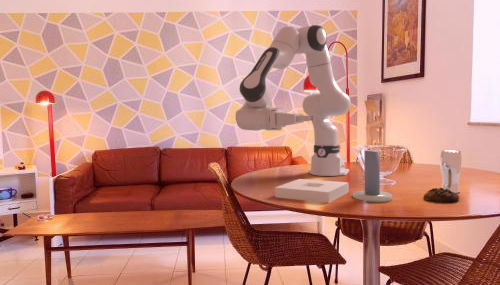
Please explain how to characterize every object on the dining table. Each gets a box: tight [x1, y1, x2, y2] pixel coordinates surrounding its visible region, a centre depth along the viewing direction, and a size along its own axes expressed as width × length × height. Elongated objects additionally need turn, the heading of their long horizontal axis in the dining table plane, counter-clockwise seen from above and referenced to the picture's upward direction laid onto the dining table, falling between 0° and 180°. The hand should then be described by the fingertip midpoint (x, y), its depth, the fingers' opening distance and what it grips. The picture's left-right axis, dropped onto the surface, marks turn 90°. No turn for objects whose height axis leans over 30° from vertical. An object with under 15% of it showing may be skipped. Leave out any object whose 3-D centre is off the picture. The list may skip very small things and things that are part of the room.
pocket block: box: [274, 178, 350, 204], centre depth 147 cm, size 20×20×4 cm
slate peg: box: [363, 149, 381, 196], centre depth 140 cm, size 5×5×15 cm
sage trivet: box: [352, 190, 393, 204], centre depth 140 cm, size 13×13×2 cm
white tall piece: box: [439, 149, 462, 194], centre depth 148 cm, size 7×7×15 cm
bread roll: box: [423, 187, 460, 204], centre depth 137 cm, size 11×11×5 cm
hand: (312, 118), depth 152 cm, fingers open, 8 cm apart
